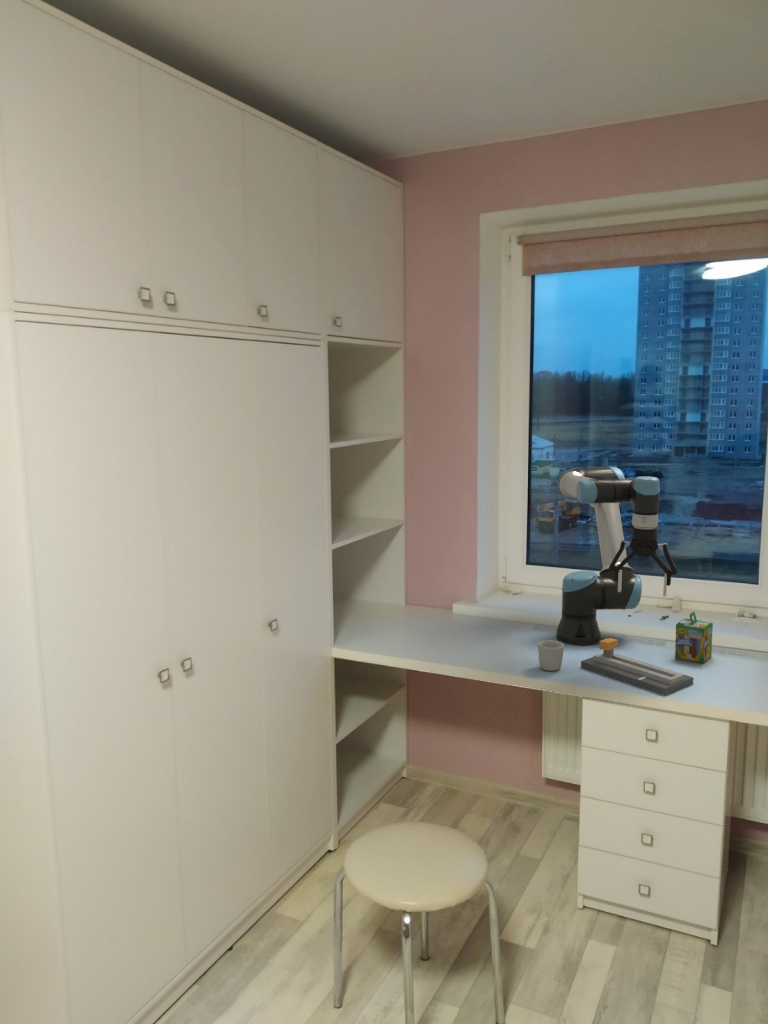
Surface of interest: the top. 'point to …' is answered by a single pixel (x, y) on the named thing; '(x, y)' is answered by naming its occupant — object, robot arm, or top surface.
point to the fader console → (638, 673)
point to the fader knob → (608, 646)
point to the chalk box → (693, 640)
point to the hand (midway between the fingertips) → (641, 593)
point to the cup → (550, 654)
